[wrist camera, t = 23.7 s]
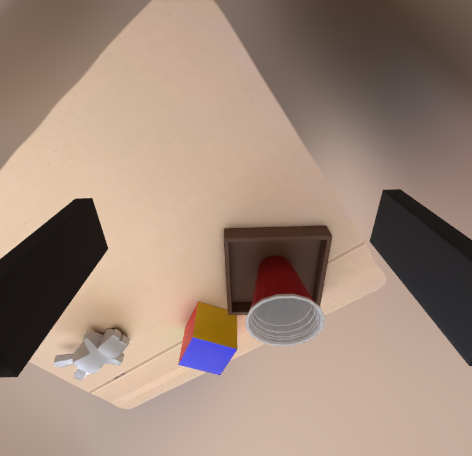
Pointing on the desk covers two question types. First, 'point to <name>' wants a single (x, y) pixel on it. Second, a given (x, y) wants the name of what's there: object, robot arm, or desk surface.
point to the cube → (209, 339)
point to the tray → (273, 244)
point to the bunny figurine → (95, 352)
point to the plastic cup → (282, 306)
